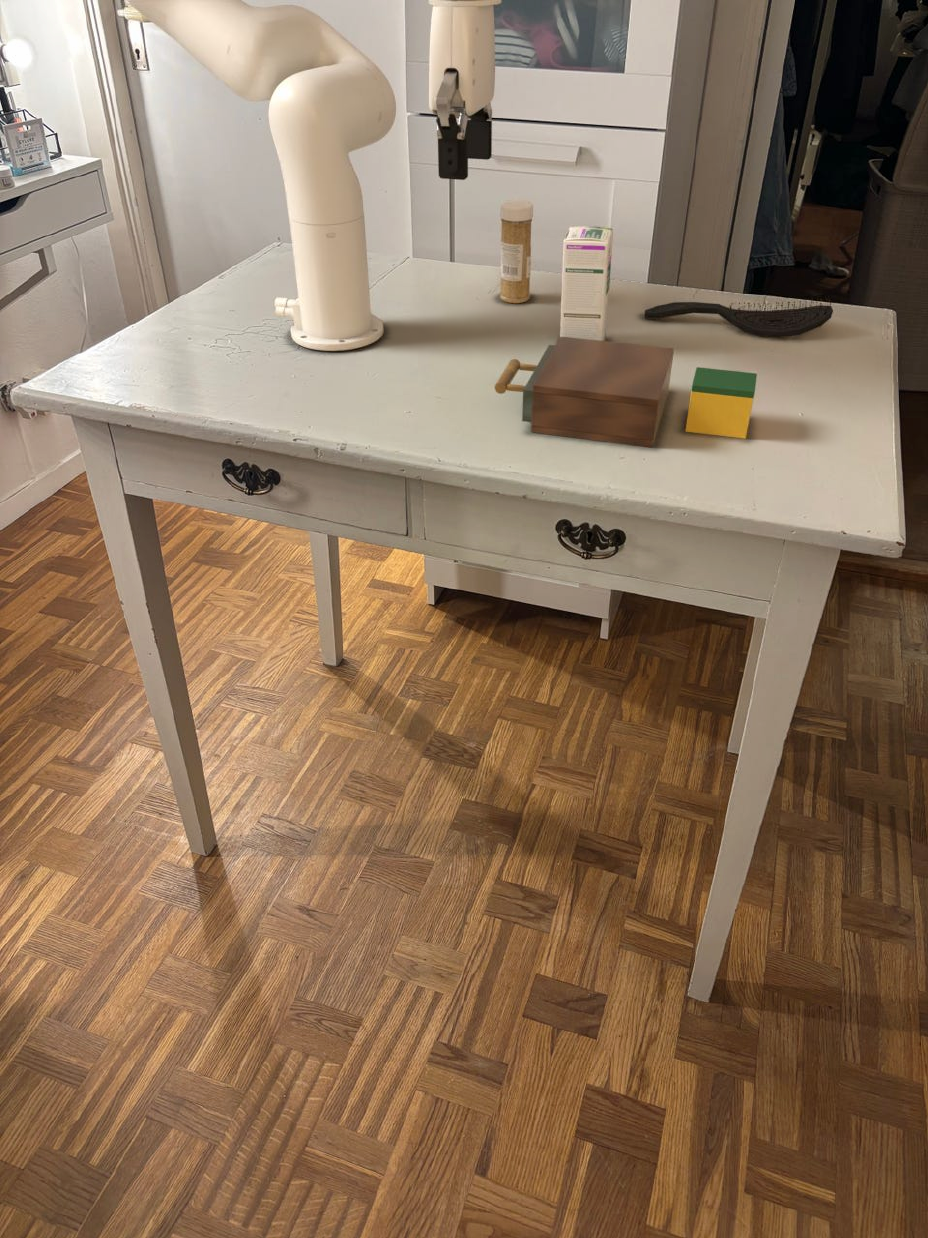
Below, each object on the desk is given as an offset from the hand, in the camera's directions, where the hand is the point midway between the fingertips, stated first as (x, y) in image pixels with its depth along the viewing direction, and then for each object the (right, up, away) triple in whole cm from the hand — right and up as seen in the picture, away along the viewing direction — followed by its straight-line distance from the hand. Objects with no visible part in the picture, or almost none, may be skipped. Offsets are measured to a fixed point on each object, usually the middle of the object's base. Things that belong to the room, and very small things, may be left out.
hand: (465, 167), depth 106 cm
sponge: (+28, -29, 0) cm, 41 cm away
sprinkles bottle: (+7, -4, +33) cm, 34 cm away
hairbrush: (+37, -10, +25) cm, 46 cm away
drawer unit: (+16, -27, +3) cm, 31 cm away
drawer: (+12, -26, +4) cm, 28 cm away
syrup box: (+15, -15, +19) cm, 29 cm away
